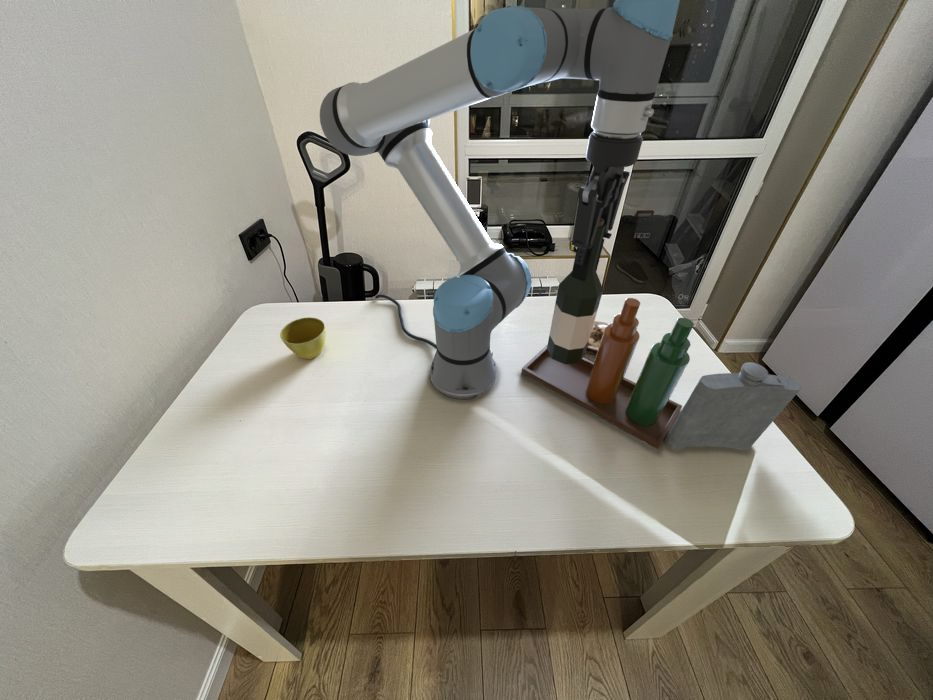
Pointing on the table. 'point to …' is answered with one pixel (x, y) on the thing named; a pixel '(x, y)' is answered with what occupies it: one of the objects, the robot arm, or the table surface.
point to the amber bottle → (614, 354)
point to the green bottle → (660, 375)
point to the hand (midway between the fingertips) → (583, 273)
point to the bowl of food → (596, 337)
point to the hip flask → (732, 408)
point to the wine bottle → (576, 311)
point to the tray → (573, 387)
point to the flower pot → (304, 337)
